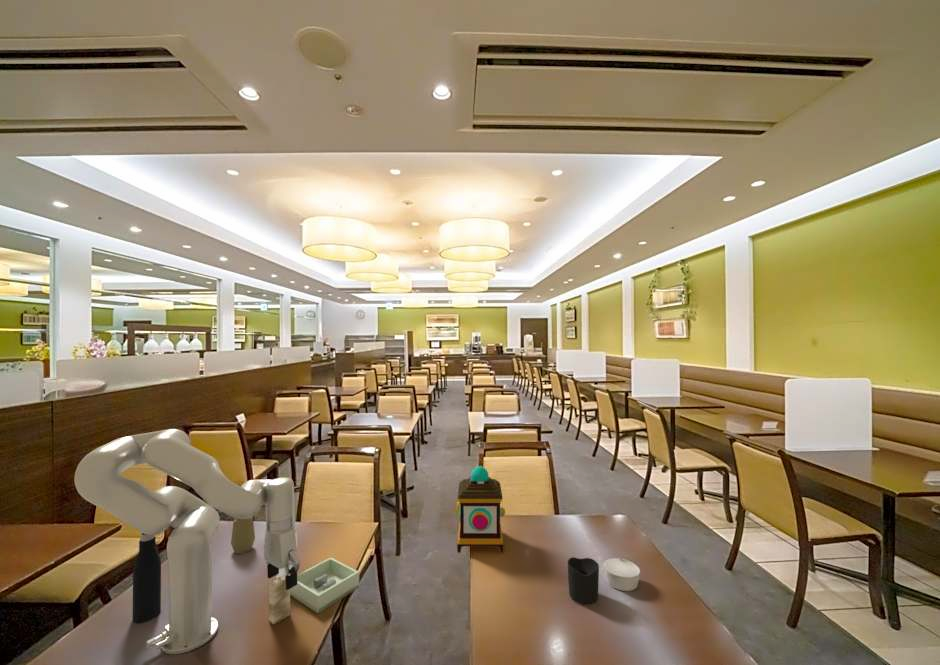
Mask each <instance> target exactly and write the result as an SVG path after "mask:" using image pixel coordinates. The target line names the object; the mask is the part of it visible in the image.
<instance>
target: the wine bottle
mask: <svg viewBox="0 0 940 665" xmlns="http://www.w3.org/2000/svg"><path fill="white" fill-rule="evenodd" d="M156 540H157V539H156V535H148V534H145V533H142V532H141V533H140V538H139V541H138V552H137V555H136V558H135V560H134V565H133V569H132V623H134V624H143V623H144V624H145V623H147V622H150V621H152V620H154V619H155V618H157V617H158V616H159V615H160V613H161V611H162V610H161V609H162V606H161V605H162V560H161V555H160V552H159V550H158V549H157V545H156V543H157V542H156Z"/></svg>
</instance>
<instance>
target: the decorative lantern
mask: <svg viewBox="0 0 940 665" xmlns="http://www.w3.org/2000/svg"><path fill="white" fill-rule="evenodd" d="M502 502H503V492H502V486H501V482H500V481H499V480H497V479H494V478H491V477H490V476H489V472H488V470H487V469H486V468H485V467H484V466H482V465H477V466H476V467H475V468H474V469H473V470H472V471H471V473H470V476H469V477H468V478H467V479H466V478H464V479H462V480H460V482H459V483H458V492H457V501H456V504H455V506H454V513H455V515H456V516H459V519H460V520H459V522H458V523H459V524H458V532H457V542H456V543H457V544H456V550H457V553H458V554H461V552H462V547H463V548H464V547H498V549H499V551H498V552H499V553H500V554H502V553H504V540H503V532H502V525H501V524H502V523H501V518H502V517H504V516H505V514H506V509H505V508H504V507H501V503H502Z"/></svg>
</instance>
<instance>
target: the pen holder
mask: <svg viewBox="0 0 940 665" xmlns="http://www.w3.org/2000/svg"><path fill="white" fill-rule="evenodd" d="M599 568H600V565H599V563H598V562H597V560H594V559H592V558H590V557H584V558H577V557H575V556H574V557H573V556H572V557H569V559H567V578H568V593H569V596H570V598H571V600H572V601H574V600H575V601H576V602H575V601H574V602H575V603H577V602H578V603H577V604H580V603H582V604H581V605H584V604H590V605H593V604H596V602H597V601H598V600H599V599H598V597H599V575H600V574H599V573H600V569H599ZM592 603H593V604H592Z"/></svg>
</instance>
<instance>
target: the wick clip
mask: <svg viewBox="0 0 940 665" xmlns="http://www.w3.org/2000/svg"><path fill="white" fill-rule="evenodd" d="M335 584H336V580H335V579H332V580H330V581H329V582H327V575H326V574H324V575H322V576H320V577H318V578H316V579H315V580H314V588H315V589H317V588H319V587H321V586H322V585H323V591H324V590H326V589H328V588H329V587H331V586H333V585H335Z"/></svg>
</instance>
